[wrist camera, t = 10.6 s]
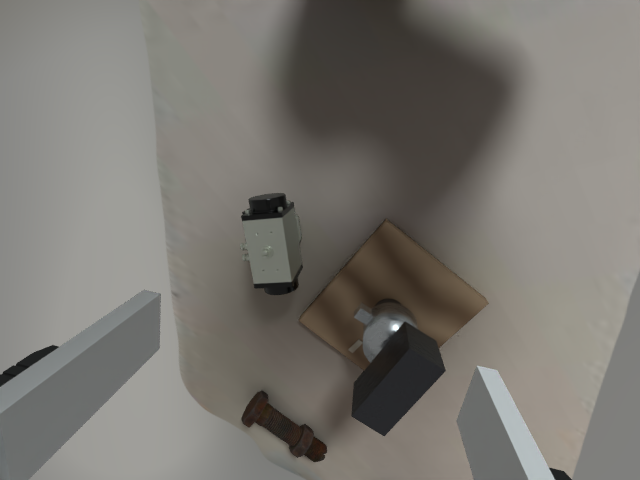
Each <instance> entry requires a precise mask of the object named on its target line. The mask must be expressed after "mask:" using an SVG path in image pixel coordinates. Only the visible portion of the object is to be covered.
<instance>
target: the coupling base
mask: <svg viewBox="0 0 640 480" xmlns="http://www.w3.org/2000/svg"><path fill="white" fill-rule="evenodd" d="M360 303H363V304H364V305H366V306H368V307H369V308H371V309H372V308H373V307H375V306H377V305H379V304H382V303H397V304H400V305H403V306H405V307H406V308H408V309H409V310H410V311H411V312H412V313H413V314H414V316H415V318H416V321H417V325H418V329H419V330H420V331H422V332H423V333H425V334H427V335H428V336H430V337H431V338H433V339H434V340H436V341H437V345H438V348H439V347H440V346H442V345H443V344H444V343H445V342H446V341H447V340H448V339H449V338H450V337H452V336H453V335H454V334H455V333H456V332H457V331H458V330H459V329H461V328H462V327H463V326H464V325H465V324H466V323H467V322H468V321H469V320H471V319H472V318H473V317H474V316H475V315H476V314H477V313H478V312H480V311H481V310H482V309H483V308H484V307H485V306H486V305H487V304H489V303H488V301H487V300H486V298H485V297H483V296H482V295H481V294H480V293H478V292H477V291H476V290H475V289H473V288H472V287H471V286H470V285H468V284H467V283H466V282H465V281H463V280H462V279H461V278H460V277H458V276H457V275H456V274H455V273H453V272H452V271H451V270H450V269H448V268H447V267H446V266H445V265H443V264H442V263H441V262H440V261H438V260H437V259H436V258H435V257H434V256H432V255H431V254H430V253H429V252H427V251H426V250H425V249H424V248H422V247H421V246H420V245H419V244H417V243H416V242H415V241H414V240H412V239H411V238H410V237H409V236H407V235H406V234H405V233H404V232H402V231H401V230H400V229H399V228H397V227H396V226H395V225H394V224H392V223H391V222H390V221H389V220H387V219H385V220H384V222H383V223H382V224H381V225H380V226H379V227H378V228H377V230H376V231H375V232H374V233H373V234H372V235H371V236H370V238H369V239H368V240H367V241H366V242H365V243H364V244H363V246H362V247H361V248H360V249H359V250H358V251H357V252H356V253H355V255H354V256H353V257H352V258H351V259H350V260H349V261H348V263H347V264H346V265H345V266H344V267H343V268H342V269H341V271H340V272H339V273H338V274H337V275H336V276H335V277H334V278H333V280H332V281H331V282H330V283H329V284H328V285H327V286H326V288H325V289H324V290H323V291H322V292H321V293H320V294H319V296H318V297H317V298H316V299H315V300H314V301H313V302H312V304H311V305H310V306H309V307H308V308H307V309H306V310H305V311H304V313H303V314H302V315H301V316H300V319H299V321H300V322H301V323H302V324H304V325H305V326H306V327H307V328H309V329H310V330H311V331H313V332H314V333H315V334H317V335H318V336H319V337H321V338H322V339H323V340H325V341H326V342H327V343H329V344H330V345H331V346H333V347H334V348H335V349H336V350H338V351H339V352H340V353H342V354H343V355H344V356H346V357H347V358H348V359H350V360H351V361H352V362H354V363H355V364H356V365H358V366H359V367H360V368H361V369H363V370H365V369H366V368H367V367H368V365H369V364H370V362H369V361H368V359H367V358H366V356H365V354H364V351H363V327H364V323H362V322H360V321H359V320H357V319H356V318H354V311H355V310H356V309H357V307H358V306H359V305H360Z"/></svg>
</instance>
